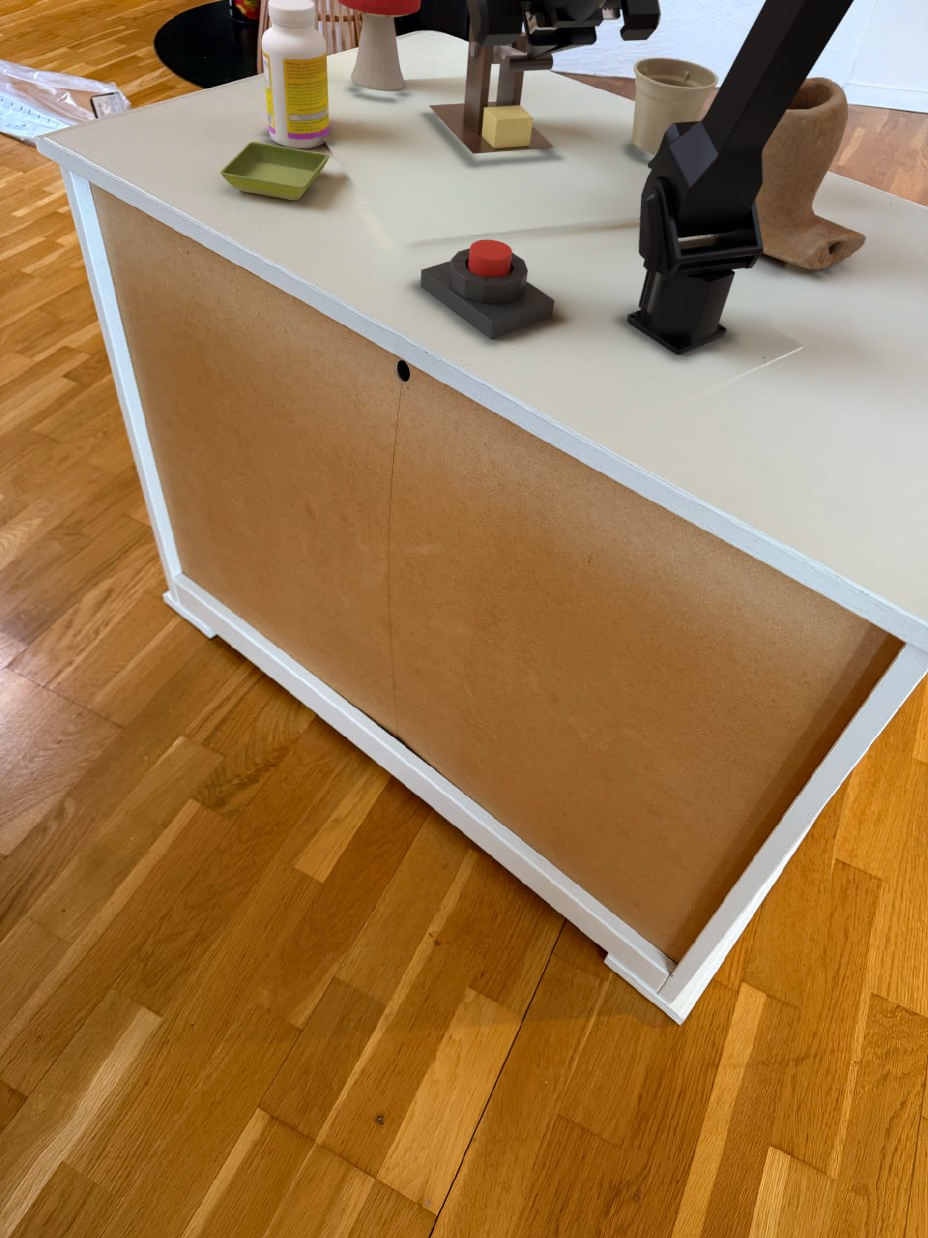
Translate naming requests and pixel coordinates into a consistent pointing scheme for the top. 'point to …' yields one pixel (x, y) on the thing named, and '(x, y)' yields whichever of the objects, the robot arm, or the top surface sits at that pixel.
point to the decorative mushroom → (379, 43)
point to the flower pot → (667, 97)
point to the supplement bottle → (295, 75)
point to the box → (488, 295)
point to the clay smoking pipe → (804, 180)
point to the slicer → (485, 99)
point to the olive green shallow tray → (274, 170)
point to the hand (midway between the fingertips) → (529, 53)
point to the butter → (507, 126)
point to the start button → (490, 258)
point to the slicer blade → (519, 60)
